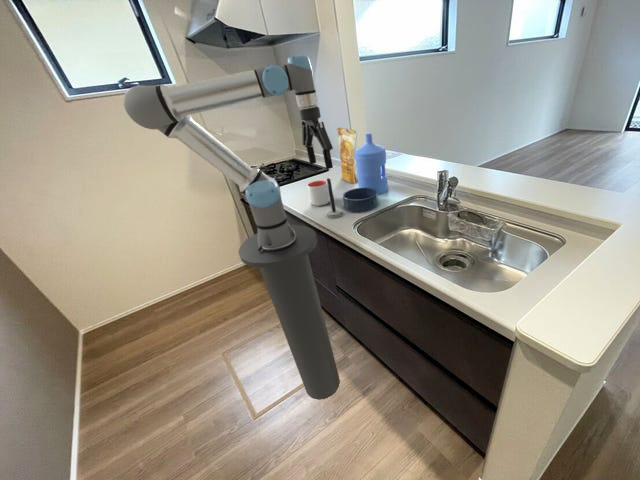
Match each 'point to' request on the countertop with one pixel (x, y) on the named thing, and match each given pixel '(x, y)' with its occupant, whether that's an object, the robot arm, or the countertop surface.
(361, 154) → the water jug
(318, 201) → the cup
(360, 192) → the bowl
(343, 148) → the pancake mix bag
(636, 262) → the countertop surface
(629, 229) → the countertop surface
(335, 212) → the rod stand
